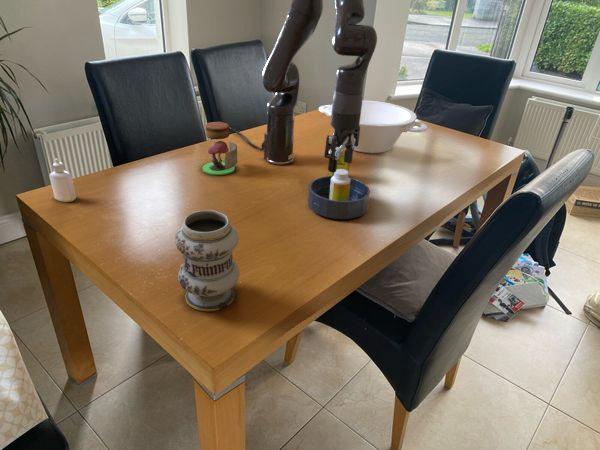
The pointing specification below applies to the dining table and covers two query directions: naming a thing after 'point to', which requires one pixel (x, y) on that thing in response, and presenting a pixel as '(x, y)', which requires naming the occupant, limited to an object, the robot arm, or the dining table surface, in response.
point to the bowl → (338, 209)
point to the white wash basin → (381, 125)
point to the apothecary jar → (207, 260)
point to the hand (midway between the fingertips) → (339, 167)
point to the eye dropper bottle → (62, 183)
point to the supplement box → (341, 162)
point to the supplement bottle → (340, 186)
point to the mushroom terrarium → (220, 150)
